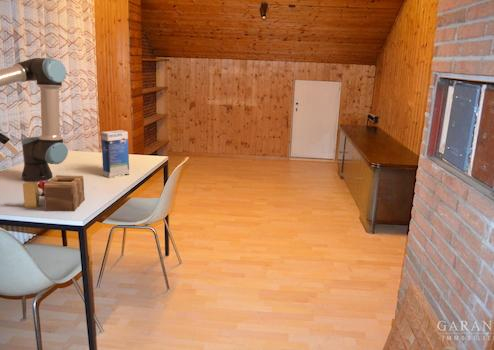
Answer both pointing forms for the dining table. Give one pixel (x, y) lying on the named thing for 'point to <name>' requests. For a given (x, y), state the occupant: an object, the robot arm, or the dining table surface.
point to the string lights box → (115, 153)
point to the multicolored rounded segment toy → (41, 187)
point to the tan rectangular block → (31, 194)
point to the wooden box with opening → (64, 193)
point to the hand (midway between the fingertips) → (10, 156)
